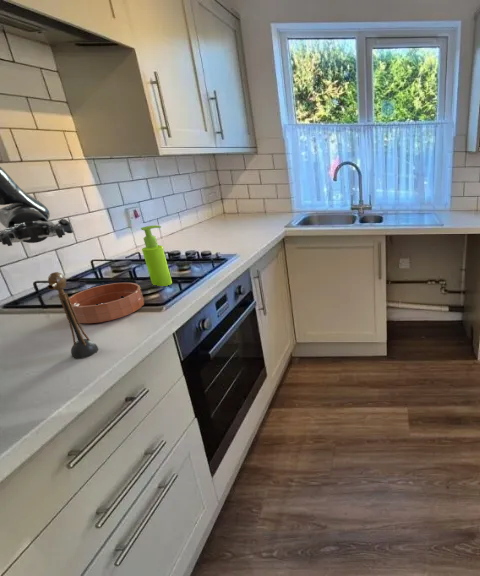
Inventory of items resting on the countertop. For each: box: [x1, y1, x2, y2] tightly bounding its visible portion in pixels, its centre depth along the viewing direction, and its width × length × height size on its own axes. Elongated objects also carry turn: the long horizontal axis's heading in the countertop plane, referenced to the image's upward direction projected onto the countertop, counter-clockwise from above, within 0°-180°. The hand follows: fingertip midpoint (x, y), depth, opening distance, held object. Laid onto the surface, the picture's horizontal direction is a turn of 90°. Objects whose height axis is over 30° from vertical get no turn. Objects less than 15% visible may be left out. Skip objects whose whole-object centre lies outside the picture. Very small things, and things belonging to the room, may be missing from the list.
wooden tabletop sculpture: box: [46, 271, 99, 360], centre depth 80 cm, size 6×5×20 cm
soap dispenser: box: [140, 224, 173, 287], centre depth 120 cm, size 6×7×20 cm
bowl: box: [67, 282, 145, 324], centre depth 104 cm, size 17×17×6 cm
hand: (34, 237), depth 80 cm, fingers open, 8 cm apart
